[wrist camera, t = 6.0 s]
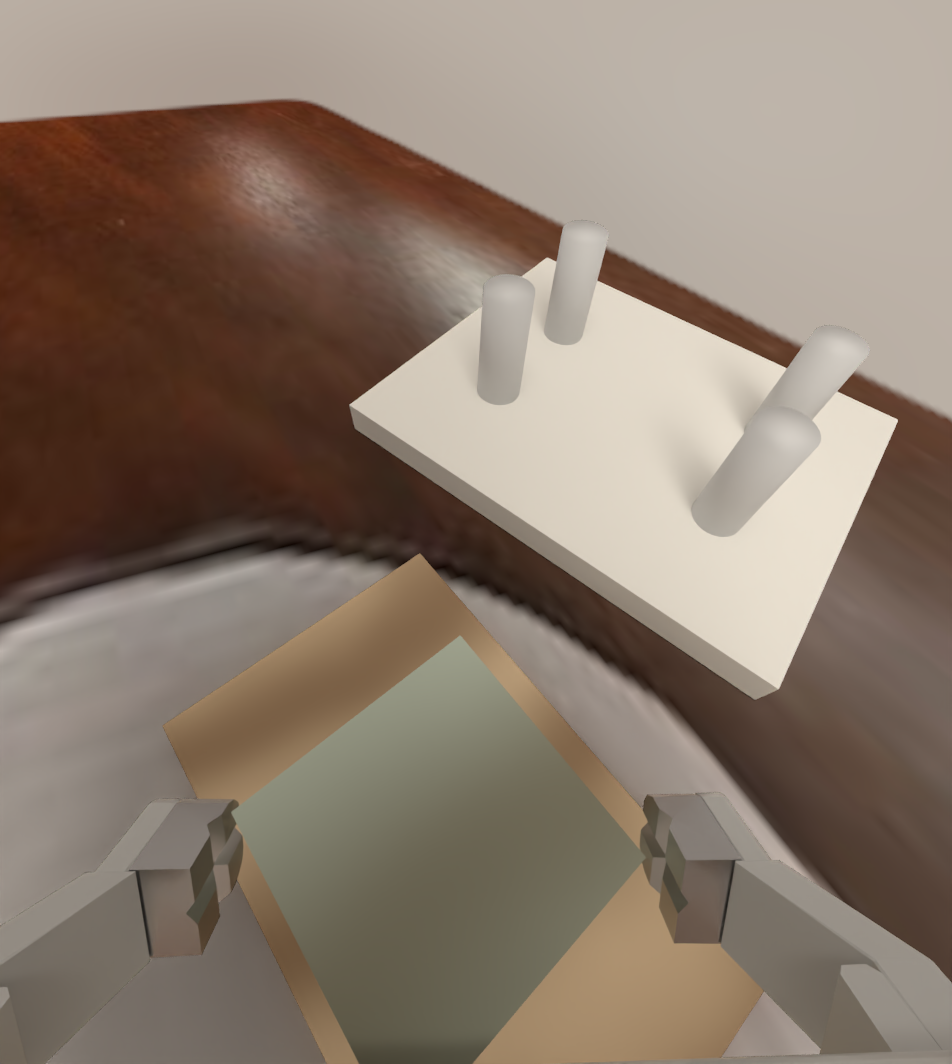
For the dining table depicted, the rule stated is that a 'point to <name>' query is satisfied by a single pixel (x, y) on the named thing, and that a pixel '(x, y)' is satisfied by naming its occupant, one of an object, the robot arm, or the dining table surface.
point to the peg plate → (644, 454)
